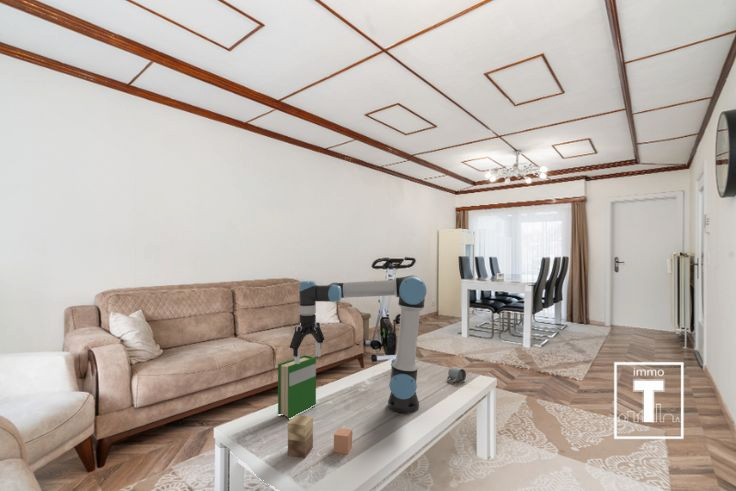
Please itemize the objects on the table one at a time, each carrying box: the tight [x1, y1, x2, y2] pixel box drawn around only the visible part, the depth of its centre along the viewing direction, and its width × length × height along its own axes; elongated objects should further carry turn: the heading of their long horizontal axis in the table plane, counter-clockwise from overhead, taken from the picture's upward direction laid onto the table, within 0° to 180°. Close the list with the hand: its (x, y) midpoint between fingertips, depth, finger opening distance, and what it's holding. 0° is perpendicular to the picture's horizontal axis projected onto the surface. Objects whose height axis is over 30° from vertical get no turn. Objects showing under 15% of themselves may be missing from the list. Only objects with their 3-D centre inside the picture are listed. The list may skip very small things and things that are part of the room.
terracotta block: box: [333, 427, 353, 455], centre depth 138 cm, size 6×6×6 cm
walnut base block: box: [287, 432, 314, 459], centre depth 136 cm, size 7×7×6 cm
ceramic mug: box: [446, 366, 467, 384], centre depth 212 cm, size 11×8×8 cm
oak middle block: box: [287, 414, 314, 442], centre depth 137 cm, size 7×7×6 cm
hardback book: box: [277, 354, 317, 419], centre depth 172 cm, size 18×7×24 cm, turn 146°
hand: (307, 359), depth 169 cm, fingers open, 13 cm apart
